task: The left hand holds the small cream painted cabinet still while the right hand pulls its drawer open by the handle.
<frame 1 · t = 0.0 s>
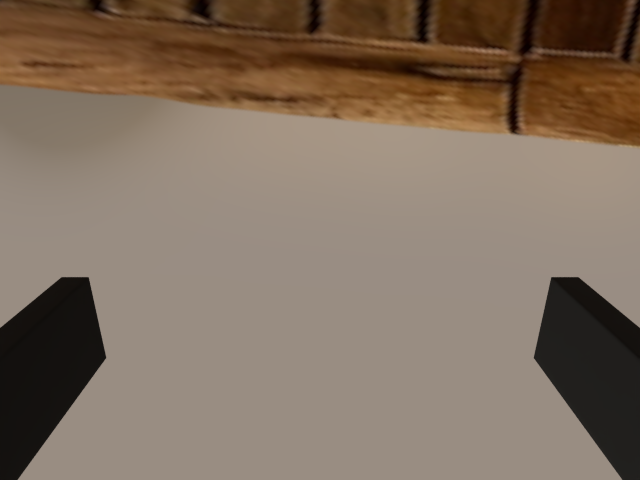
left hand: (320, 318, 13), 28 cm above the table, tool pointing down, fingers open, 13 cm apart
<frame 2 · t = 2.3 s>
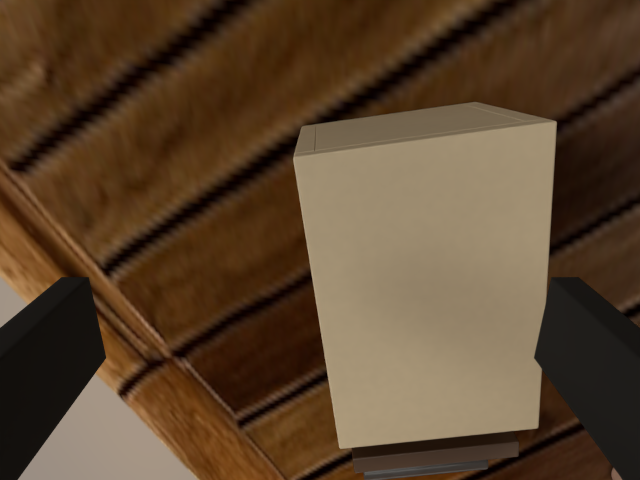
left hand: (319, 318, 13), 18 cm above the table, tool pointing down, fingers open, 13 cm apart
cabinet: (397, 235, 31), on the table
drawer: (417, 357, 29), point 5 cm above the table, slide at 1.9 cm
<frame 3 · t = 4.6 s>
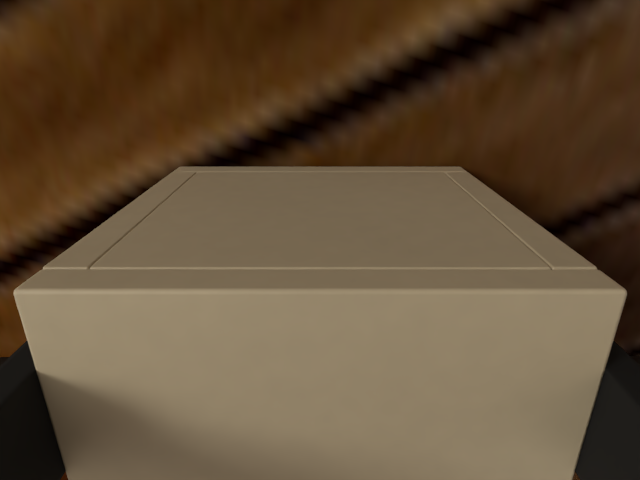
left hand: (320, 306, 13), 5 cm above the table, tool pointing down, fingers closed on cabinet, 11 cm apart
cabinet: (320, 344, 20), on the table, touching left hand
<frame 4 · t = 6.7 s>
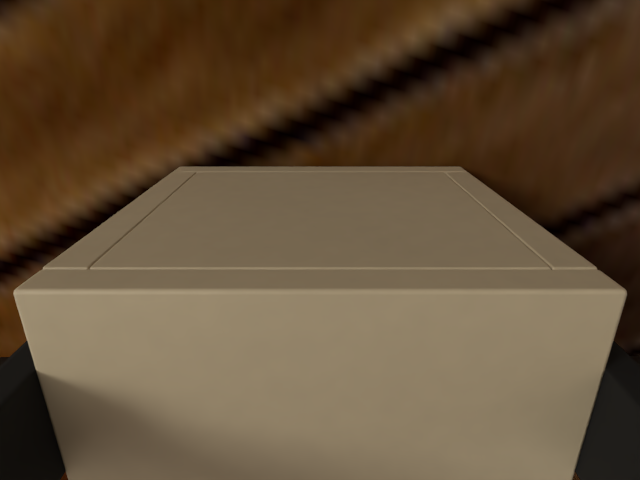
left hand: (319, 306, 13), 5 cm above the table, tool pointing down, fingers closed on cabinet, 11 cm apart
cabinet: (320, 344, 20), on the table, touching left hand
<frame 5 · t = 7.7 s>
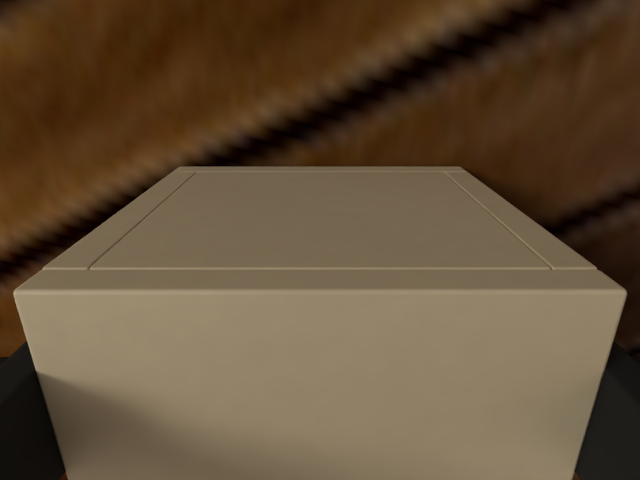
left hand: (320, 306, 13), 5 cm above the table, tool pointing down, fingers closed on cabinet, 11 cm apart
cabinet: (320, 344, 20), on the table, touching left hand
when the left hand's fingers open (5 cm above the table, at t = 9.5 s): cabinet stays where it is, on the table.
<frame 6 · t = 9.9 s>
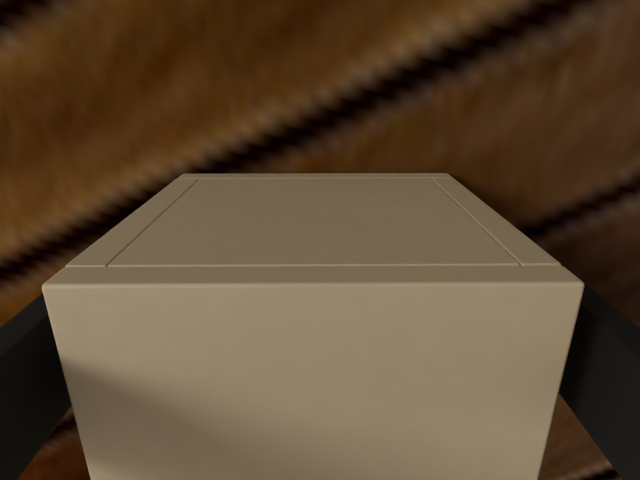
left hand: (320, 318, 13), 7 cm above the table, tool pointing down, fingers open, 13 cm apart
cabinet: (316, 342, 21), on the table
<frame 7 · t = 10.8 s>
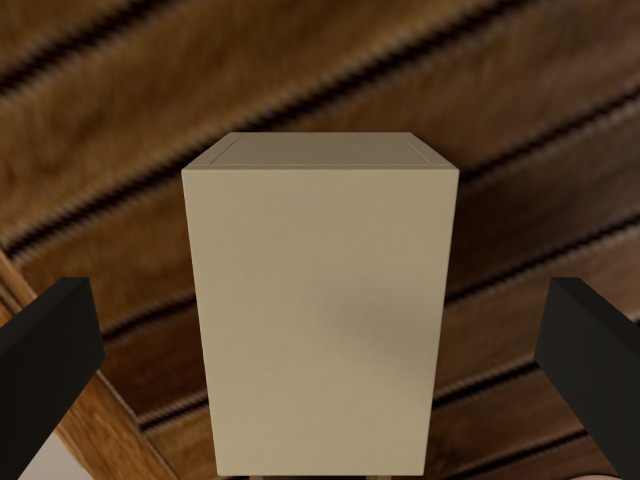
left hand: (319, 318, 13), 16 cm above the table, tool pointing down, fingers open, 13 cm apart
cabinet: (320, 257, 30), on the table
drawer: (320, 467, 30), point 5 cm above the table, slide at 8.9 cm
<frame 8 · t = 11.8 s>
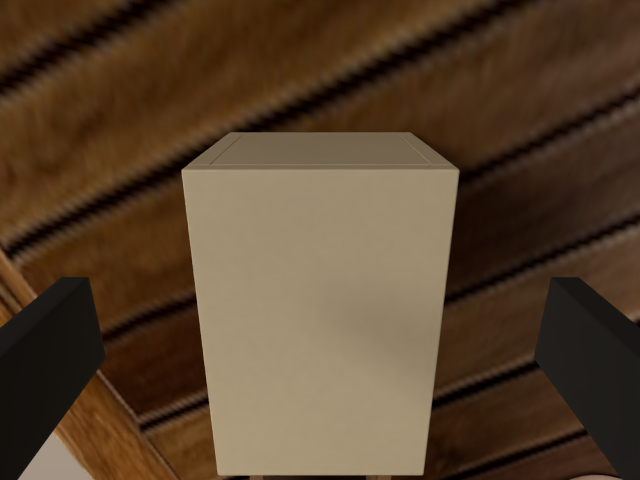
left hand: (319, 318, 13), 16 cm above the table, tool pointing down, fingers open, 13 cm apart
cabinet: (320, 256, 30), on the table
drawer: (320, 467, 30), point 5 cm above the table, slide at 8.9 cm
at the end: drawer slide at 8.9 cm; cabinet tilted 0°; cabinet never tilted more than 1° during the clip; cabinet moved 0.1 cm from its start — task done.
